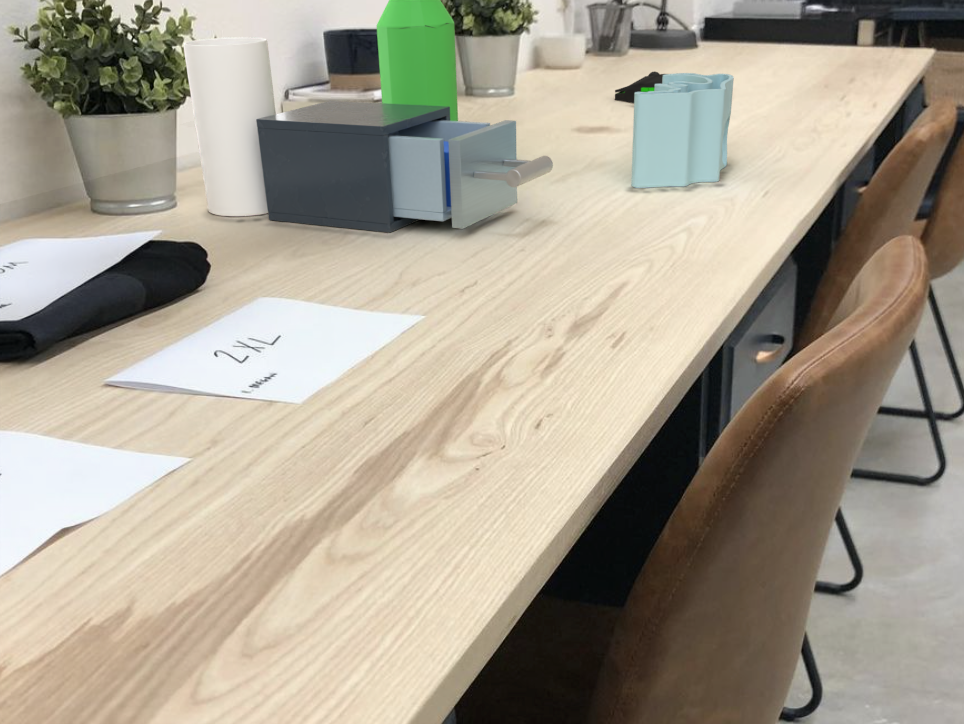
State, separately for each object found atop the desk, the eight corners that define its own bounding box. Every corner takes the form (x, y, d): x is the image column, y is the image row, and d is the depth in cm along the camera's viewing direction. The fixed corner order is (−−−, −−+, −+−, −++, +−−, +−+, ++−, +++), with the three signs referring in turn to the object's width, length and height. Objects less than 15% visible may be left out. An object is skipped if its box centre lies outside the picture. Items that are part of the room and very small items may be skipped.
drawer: (562, 207, 110) (563, 123, 106) (510, 233, 102) (509, 143, 98) (403, 193, 118) (398, 114, 114) (342, 216, 109) (335, 132, 105)
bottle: (473, 164, 135) (466, -75, 122) (432, 177, 129) (419, -73, 116) (415, 158, 139) (401, -73, 126) (372, 171, 133) (353, -71, 120)
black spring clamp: (680, 110, 166) (682, 81, 164) (600, 100, 177) (601, 73, 175) (728, 101, 172) (730, 73, 170) (648, 92, 183) (649, 65, 181)
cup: (239, 196, 123) (217, 36, 115) (301, 202, 120) (283, 37, 112) (192, 213, 117) (165, 44, 108) (256, 219, 113) (233, 46, 105)
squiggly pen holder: (721, 189, 119) (728, 94, 114) (629, 187, 121) (632, 95, 116) (728, 157, 134) (735, 72, 129) (646, 156, 136) (650, 73, 131)
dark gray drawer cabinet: (454, 205, 116) (450, 106, 111) (390, 232, 107) (382, 126, 102) (338, 194, 122) (329, 100, 118) (268, 220, 113) (255, 119, 108)
